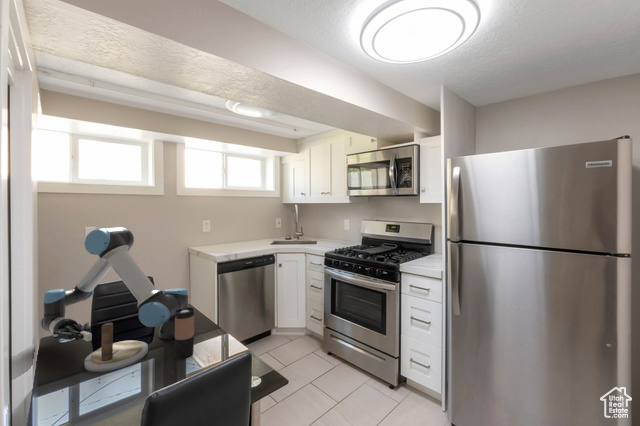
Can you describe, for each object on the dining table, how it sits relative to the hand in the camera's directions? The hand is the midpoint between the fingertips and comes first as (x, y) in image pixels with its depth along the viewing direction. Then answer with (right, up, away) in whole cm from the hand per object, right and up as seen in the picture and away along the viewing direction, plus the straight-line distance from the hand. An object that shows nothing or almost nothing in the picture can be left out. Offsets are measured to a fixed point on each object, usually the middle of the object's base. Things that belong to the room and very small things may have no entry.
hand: (89, 337), depth 116 cm
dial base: (+10, -10, +3) cm, 14 cm away
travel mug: (+38, -10, +4) cm, 40 cm away
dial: (+10, -8, +2) cm, 13 cm away
